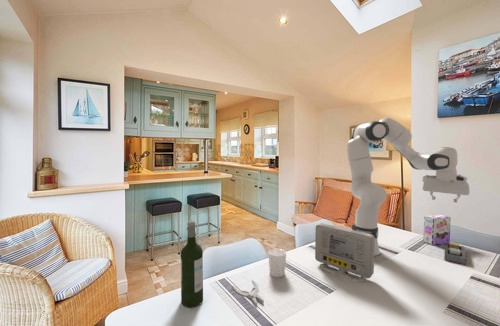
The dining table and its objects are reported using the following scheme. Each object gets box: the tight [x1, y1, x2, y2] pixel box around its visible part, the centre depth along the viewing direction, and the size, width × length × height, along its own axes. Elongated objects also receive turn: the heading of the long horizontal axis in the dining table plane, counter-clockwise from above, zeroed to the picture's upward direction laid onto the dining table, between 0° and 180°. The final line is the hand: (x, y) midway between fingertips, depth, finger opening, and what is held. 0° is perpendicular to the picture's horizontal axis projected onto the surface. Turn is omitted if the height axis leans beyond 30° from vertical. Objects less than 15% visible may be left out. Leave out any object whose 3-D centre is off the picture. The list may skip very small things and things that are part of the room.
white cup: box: [268, 248, 287, 278], centre depth 107 cm, size 8×8×10 cm
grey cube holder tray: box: [443, 243, 467, 266], centre depth 126 cm, size 8×20×3 cm, turn 140°
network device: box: [314, 222, 375, 283], centre depth 108 cm, size 26×9×20 cm, turn 47°
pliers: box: [232, 280, 265, 306], centre depth 92 cm, size 10×2×15 cm
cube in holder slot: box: [449, 248, 460, 256], centre depth 122 cm, size 4×4×5 cm
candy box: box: [423, 214, 451, 246], centre depth 143 cm, size 14×6×16 cm, turn 104°
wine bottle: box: [180, 220, 204, 309], centre depth 86 cm, size 8×8×30 cm
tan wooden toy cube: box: [449, 241, 460, 249], centre depth 129 cm, size 4×4×5 cm
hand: (444, 200), depth 132 cm, fingers open, 8 cm apart
